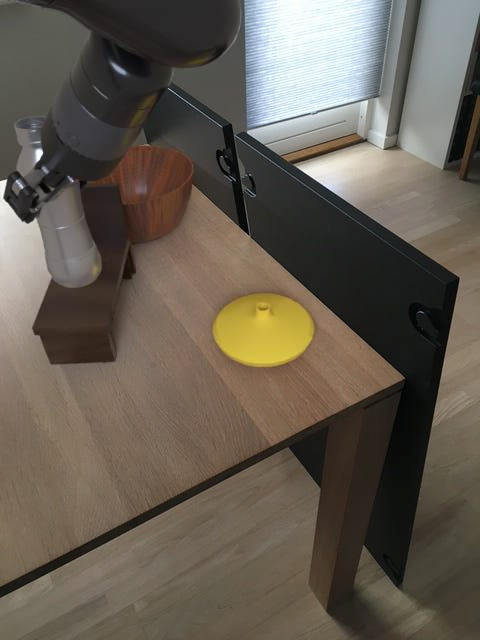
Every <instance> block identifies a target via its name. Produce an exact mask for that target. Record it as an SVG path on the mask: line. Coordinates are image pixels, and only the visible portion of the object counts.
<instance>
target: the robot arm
mask: <svg viewBox="0 0 480 640" xmlns="http://www.w3.org/2000/svg"><path fill="white" fill-rule="evenodd" d="M8 1H9V2H13V3H18V4H21V5H26V6H30V7H34V8H39V9H42V10H47V11H52V12H56V13H59V14H62V15H64V16H66V17H67V18H69V19H71V20H73V21H74V22H76V23H77V24H79V25H80V26H81V27H83V28H86V30H88V33H87V36H86V37H85V39H84V41H83V43H82V45H81V46H80V50H79V52H78V53H77V56H76V59H75V60H74V63H73V65H72V67H71V68H70V70H69V71H68V72H67V74H66V76H65V77H64V78H63V80H62V81H61V83H60V86H59V88H58V90H57V92H56V94H55V97H54V99H53V101H52V104H51V106H50V108H49V111H47V115H46V116H45V117H46V119H45V121H44V124H43V126H42V129H41V145H42V151H43V154H42V155H41V156H40V160H39V161H38V162H37V163H36V164H35V166H34V167H33V168H32V169H31V171H30V172H29V173H28V174H27V175H26V176H24V177H23V176H22V174H20V173H19V171H17V170H15V171H12V172H10V173H9V174H8V176H7V179H6V183H5V188H4V191H3V192H4V193H3V197H2V199H3V200H4V201H5V203H7V205H8V206H9V207H10V208H11V210H12V211H13V213H15V215H16V217H18V219H19V220H20V221H21V222H22V223H25V224H27V225H28V224H30V223H32V222H34V221H35V219H36V218H35V217H36V215H37V214H38V212H39V210H40V208H41V207H42V206H43V205H44V204H45V203H48V202H51V201H54V200H56V199H57V198H58V197H59V196H60V195H61V194H62V193H63V192H64V191H65V190H66V189H67V188H69V187H72V186H74V185H75V184H76V183H77V182H78V181H79V182H80V192H81V193H82V191H83V190H84V188H85V187H86V185H87V184H88V183H90V182H92V181H97V180H101V179H103V178H105V177H107V176H108V175H110V174H111V173H112V172H113V170H114V169H115V168H116V166H117V165H118V164H119V162H120V161H121V159H122V158H123V157H124V155H125V154H126V152H127V151H128V150H129V148H130V147H131V146H133V144H134V143H135V142H136V140H137V138H139V136H140V134H141V133H142V131H143V129H144V126H145V123H146V121H147V120H148V118H149V117H150V115H151V114H152V112H154V109H155V108H156V106H157V105H158V104H159V102H160V101H161V100H162V98H163V97H164V95H165V94H166V93H167V91H168V89H169V87H170V85H171V83H172V80H173V76H174V69H192V68H193V69H194V68H198V67H202V66H206V65H208V64H210V63H213V62H215V61H216V60H217V59H220V58H221V57H222V56H224V54H226V53H227V51H228V50H229V49H230V48H231V47H232V45H233V44H234V43H235V42H236V39H237V37H238V34H239V31H240V28H241V25H242V24H241V23H242V6H241V1H240V0H8ZM46 184H47V185H49V186H50V187H52V188H55V189H54V190H53V191H51V190H50V188H49V187H48V186H47V185H46ZM34 190H35V191H36V192H37V193H38V195H39V198H38V199H37V200H36V198H35V197H36V196H37V193H36V192H35V191H34Z"/></svg>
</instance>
